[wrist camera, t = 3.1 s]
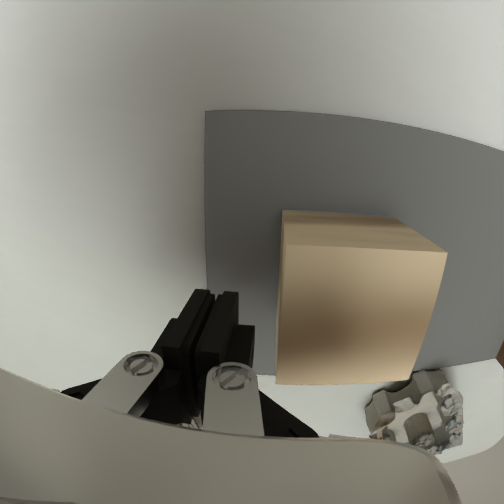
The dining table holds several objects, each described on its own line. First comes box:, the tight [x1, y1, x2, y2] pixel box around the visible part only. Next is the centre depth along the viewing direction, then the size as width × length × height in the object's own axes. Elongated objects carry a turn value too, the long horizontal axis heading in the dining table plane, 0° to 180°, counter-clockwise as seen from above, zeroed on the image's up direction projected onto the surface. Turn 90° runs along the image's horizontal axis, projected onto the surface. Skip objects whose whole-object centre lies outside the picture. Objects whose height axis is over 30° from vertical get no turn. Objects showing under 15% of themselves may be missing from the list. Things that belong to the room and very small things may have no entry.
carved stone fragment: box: [365, 370, 464, 455], centre depth 18 cm, size 11×8×4 cm
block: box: [276, 209, 448, 385], centre depth 13 cm, size 6×6×6 cm
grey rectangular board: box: [205, 110, 504, 375], centre depth 16 cm, size 16×24×1 cm
